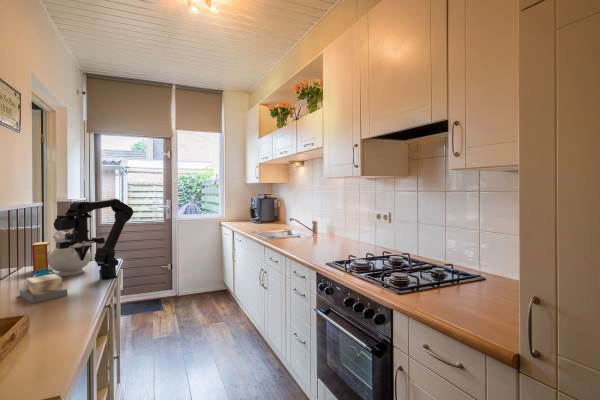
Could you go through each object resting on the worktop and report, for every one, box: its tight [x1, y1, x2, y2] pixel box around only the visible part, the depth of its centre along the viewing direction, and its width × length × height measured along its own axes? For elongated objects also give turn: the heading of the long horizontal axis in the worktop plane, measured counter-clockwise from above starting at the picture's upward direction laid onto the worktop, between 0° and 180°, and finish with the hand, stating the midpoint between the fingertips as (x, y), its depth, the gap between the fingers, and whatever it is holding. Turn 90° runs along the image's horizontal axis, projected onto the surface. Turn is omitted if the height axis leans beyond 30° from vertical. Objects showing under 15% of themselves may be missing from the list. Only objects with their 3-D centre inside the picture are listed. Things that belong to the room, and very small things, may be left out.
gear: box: [29, 268, 56, 278], centre depth 158 cm, size 11×6×10 cm
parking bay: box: [18, 287, 68, 304], centre depth 140 cm, size 12×18×2 cm
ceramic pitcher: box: [48, 229, 92, 277], centre depth 176 cm, size 22×20×25 cm
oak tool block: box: [26, 273, 63, 296], centre depth 141 cm, size 10×11×8 cm
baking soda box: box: [31, 241, 52, 274], centre depth 184 cm, size 10×6×16 cm
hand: (81, 260), depth 154 cm, fingers closed
